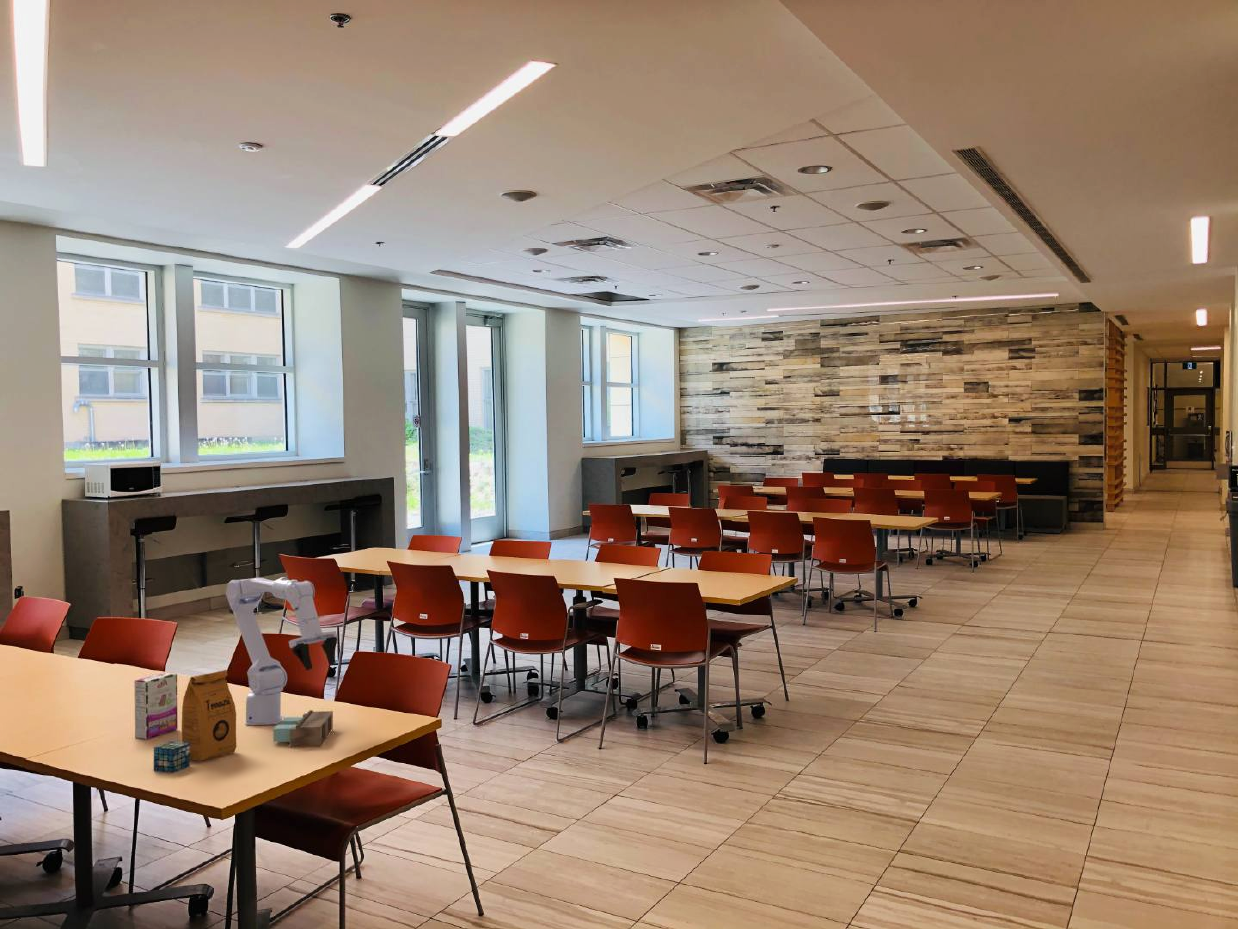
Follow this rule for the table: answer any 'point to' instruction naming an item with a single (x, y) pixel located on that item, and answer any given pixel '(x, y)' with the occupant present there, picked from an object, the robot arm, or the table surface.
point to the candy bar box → (155, 705)
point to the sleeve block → (311, 729)
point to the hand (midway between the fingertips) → (321, 667)
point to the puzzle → (171, 757)
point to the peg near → (282, 733)
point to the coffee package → (209, 717)
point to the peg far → (290, 720)
